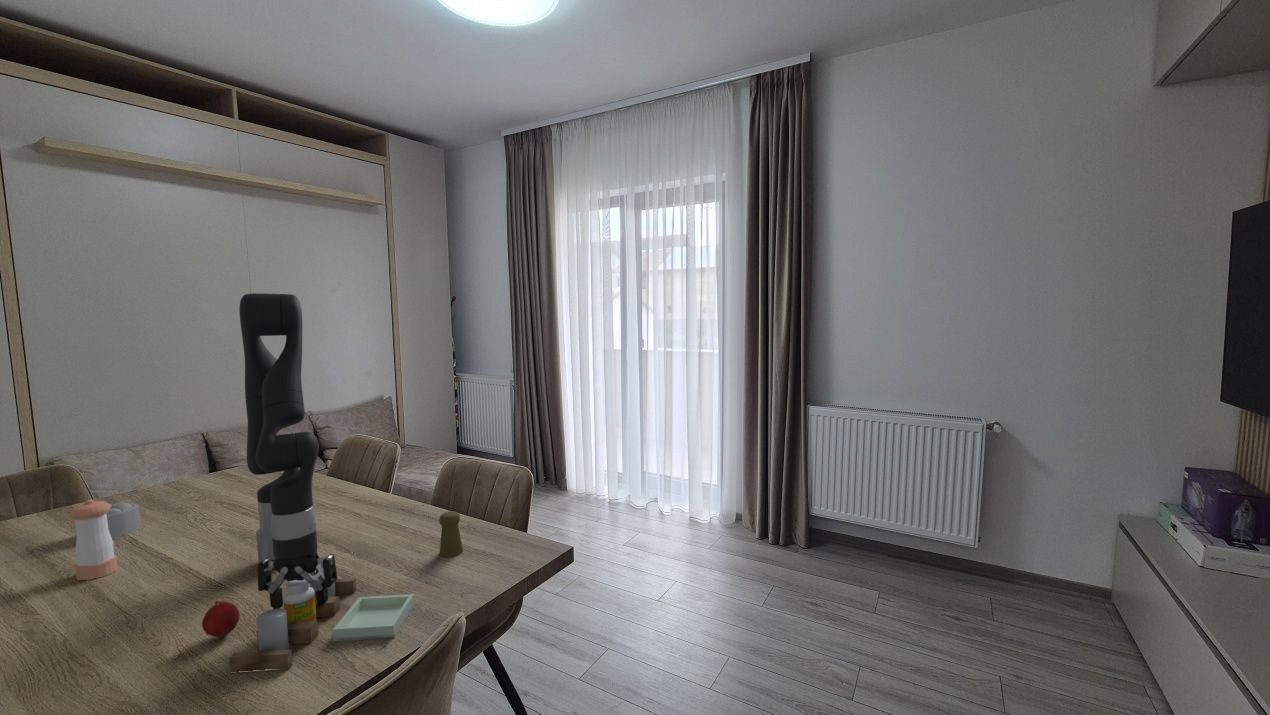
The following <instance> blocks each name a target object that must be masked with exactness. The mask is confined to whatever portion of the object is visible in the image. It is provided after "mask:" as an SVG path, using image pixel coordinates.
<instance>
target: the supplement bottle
mask: <svg viewBox="0 0 1270 715" xmlns="http://www.w3.org/2000/svg"><path fill="white" fill-rule="evenodd" d="M283 609H285V610H286V615H287V622H303V621H317V617H316V607H315V593H314V589H313V588H311V587H310V584H309V583H308V582H307V581H306V580H305V579H304V580H301V581H299V580H293V581H287V583H286V594H285V595H284V597H283Z"/></svg>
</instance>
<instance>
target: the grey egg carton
mask: <svg viewBox="0 0 1270 715" xmlns="http://www.w3.org/2000/svg"><path fill="white" fill-rule="evenodd" d="M108 504H109V505H110V510H109V512H108V513H106V514H107V522H108V529H109V532H110V535H111V538H114V539H116V538H115V537H117V538H120V537H119V536H121V537H123V536H122V535H124V536H126V535H125V534H127V535H129V534H132V533H134V532H136V531H138V530H139V529H141V528H142V523H141V514H140V505H139V504H138V503H134V502H131V503H129V502H126V501H119V502H115V503H114V504H111V503H108ZM140 527H141V528H140ZM137 529H138V530H137ZM135 530H136V531H135ZM133 531H134V532H133ZM131 532H132V533H131ZM128 533H129V534H128Z"/></svg>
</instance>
